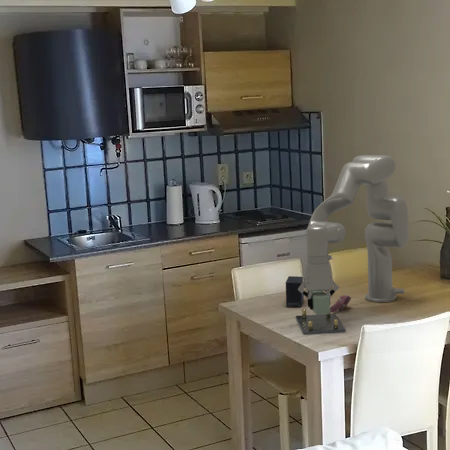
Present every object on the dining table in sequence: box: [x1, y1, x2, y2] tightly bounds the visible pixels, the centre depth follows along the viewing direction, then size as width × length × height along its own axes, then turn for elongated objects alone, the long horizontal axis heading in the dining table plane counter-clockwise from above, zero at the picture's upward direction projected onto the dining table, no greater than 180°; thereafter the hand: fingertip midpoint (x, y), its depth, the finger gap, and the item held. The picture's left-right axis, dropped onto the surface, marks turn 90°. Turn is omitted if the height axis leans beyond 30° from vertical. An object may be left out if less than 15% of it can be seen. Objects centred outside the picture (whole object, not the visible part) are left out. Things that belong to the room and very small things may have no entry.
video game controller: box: [330, 294, 352, 313], centre depth 279 cm, size 10×5×7 cm, turn 149°
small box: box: [285, 275, 305, 308], centre depth 291 cm, size 11×6×10 cm, turn 168°
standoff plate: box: [295, 308, 346, 336], centre depth 262 cm, size 15×20×4 cm
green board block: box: [311, 291, 331, 315], centre depth 260 cm, size 5×11×6 cm, turn 8°
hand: (319, 307), depth 261 cm, fingers closed on green board block, 5 cm apart
